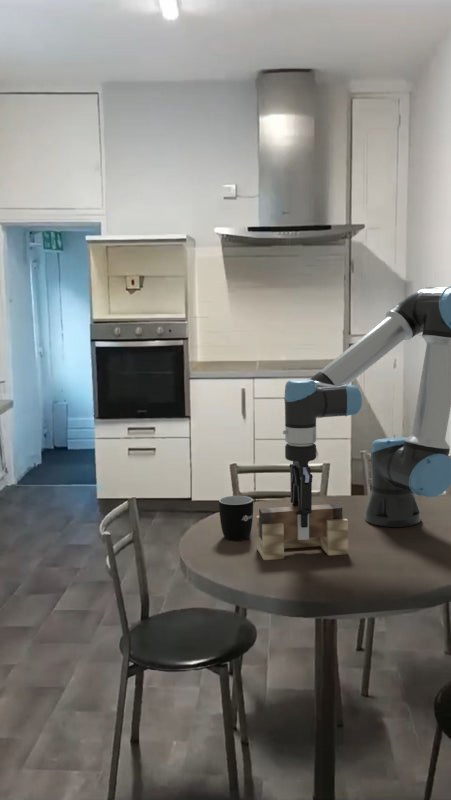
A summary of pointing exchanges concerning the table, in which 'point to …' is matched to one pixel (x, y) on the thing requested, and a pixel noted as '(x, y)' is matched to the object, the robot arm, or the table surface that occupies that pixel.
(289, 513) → the brown rectangular block
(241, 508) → the mug
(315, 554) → the table surface
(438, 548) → the table surface
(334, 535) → the posts
